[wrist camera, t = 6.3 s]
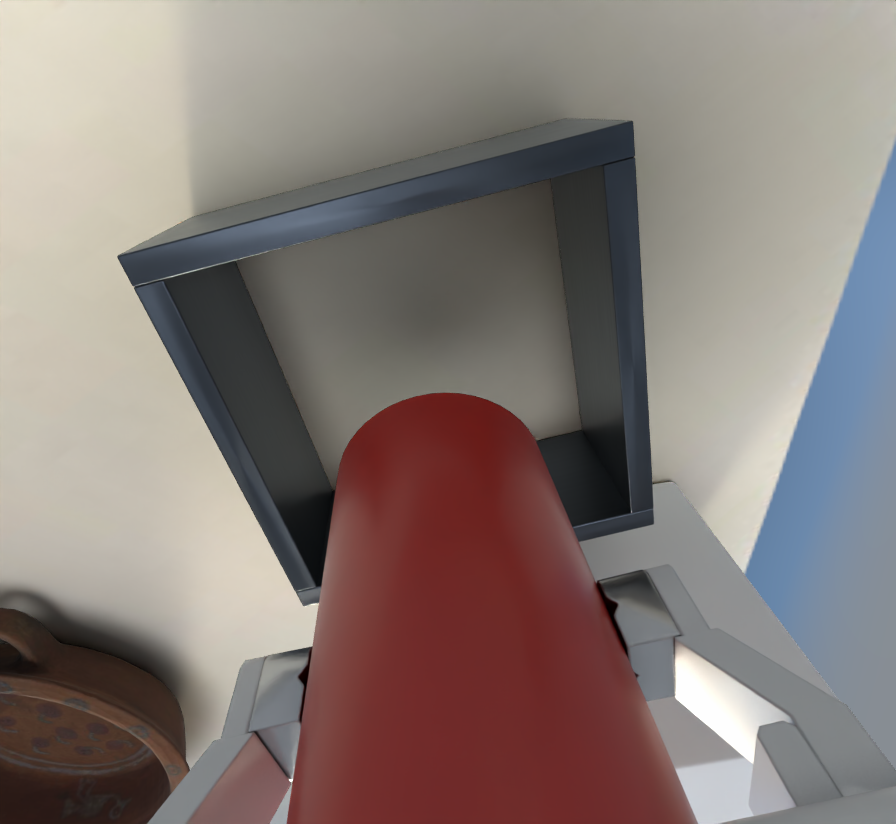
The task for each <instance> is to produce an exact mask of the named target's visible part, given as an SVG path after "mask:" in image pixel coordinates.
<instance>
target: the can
mask: <svg viewBox="0 0 896 824" xmlns="http://www.w3.org/2000/svg"><path fill="white" fill-rule="evenodd" d="M287 824H698V822H697V820H696V817H695V815H694V813H693V810H692V808H691V806H690V803H689V801H688V798H687V796H686V794H685V791H684V789H683V787H682V784H681V782H680V780H679V777H678V775H677V773H676V770H675V768H674V765H673V763H672V761H671V758H670V756H669V754H668V751H667V749H666V747H665V744H664V742H663V740H662V737H661V735H660V732H659V730H658V728H657V725H656V723H655V721H654V718H653V716H652V714H651V711H650V709H649V706H648V704H647V702H646V699H645V697H644V695H643V692H642V690H641V688H640V685H639V683H638V681H637V678H636V676H635V673H634V671H633V669H632V666H631V664H630V662H629V660H628V657H627V655H626V652H625V650H624V648H623V645H622V643H621V641H620V638H619V636H618V634H617V631H616V629H615V626H614V624H613V622H612V619H611V617H610V615H609V612H608V610H607V608H606V605H605V603H604V601H603V598H602V596H601V593H600V591H599V589H598V586H597V584H596V582H595V579H594V577H593V574H592V572H591V570H590V567H589V565H588V563H587V560H586V558H585V556H584V553H583V551H582V549H581V546H580V544H579V541H578V539H577V537H576V534H575V532H574V530H573V527H572V525H571V523H570V520H569V518H568V515H567V513H566V511H565V508H564V506H563V504H562V501H561V499H560V497H559V494H558V492H557V490H556V487H555V485H554V482H553V480H552V478H551V475H550V473H549V471H548V468H547V466H546V464H545V461H544V459H543V457H542V454H541V452H540V449H539V447H538V445H537V443H536V440H535V438H534V437H533V435H532V434H531V432H530V431H529V429H528V428H527V427H526V426H525V425H524V424H523V422H522V421H521V420H520V419H518V418H517V417H516V416H515V415H514V414H512V413H511V412H510V411H508V410H506V409H505V408H503V407H501V406H500V405H498V404H495V403H493V402H491V401H489V400H486V399H483V398H479V397H476V396H472V395H466V394H460V393H432V394H426V395H420V396H415V397H412V398H409V399H406V400H402V401H400V402H398V403H396V404H393V405H391V406H389V407H387V408H386V409H384V410H382V411H381V412H379V413H377V414H376V415H375V416H373V417H372V418H371V419H370V420H368V421H367V422H366V423H365V424H364V425H363V426H362V427H361V428H360V429H359V430H358V431H357V432H356V433H355V435H354V436H353V438H352V439H351V440H350V442H349V443H348V445H347V447H346V449H345V451H344V453H343V456H342V459H341V462H340V465H339V471H338V477H337V484H336V491H335V497H334V504H333V511H332V518H331V525H330V531H329V538H328V545H327V552H326V559H325V566H324V572H323V579H322V586H321V593H320V600H319V606H318V613H317V620H316V627H315V634H314V640H313V647H312V654H311V661H310V668H309V675H308V681H307V688H306V695H305V702H304V709H303V715H302V722H301V729H300V736H299V743H298V749H297V756H296V763H295V770H294V777H293V783H292V790H291V797H290V804H289V811H288V818H287Z"/></svg>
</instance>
